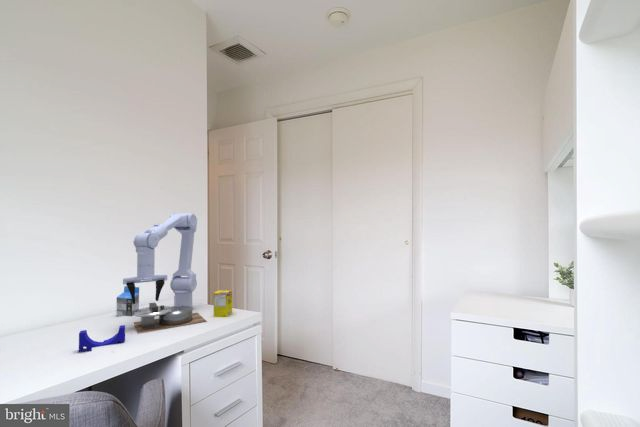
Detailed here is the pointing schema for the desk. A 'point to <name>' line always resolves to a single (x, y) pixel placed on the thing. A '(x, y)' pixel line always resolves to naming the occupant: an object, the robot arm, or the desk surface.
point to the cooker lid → (153, 310)
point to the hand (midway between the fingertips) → (145, 301)
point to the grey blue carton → (127, 303)
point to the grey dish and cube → (170, 317)
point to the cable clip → (89, 343)
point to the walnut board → (195, 320)
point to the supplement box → (222, 303)
